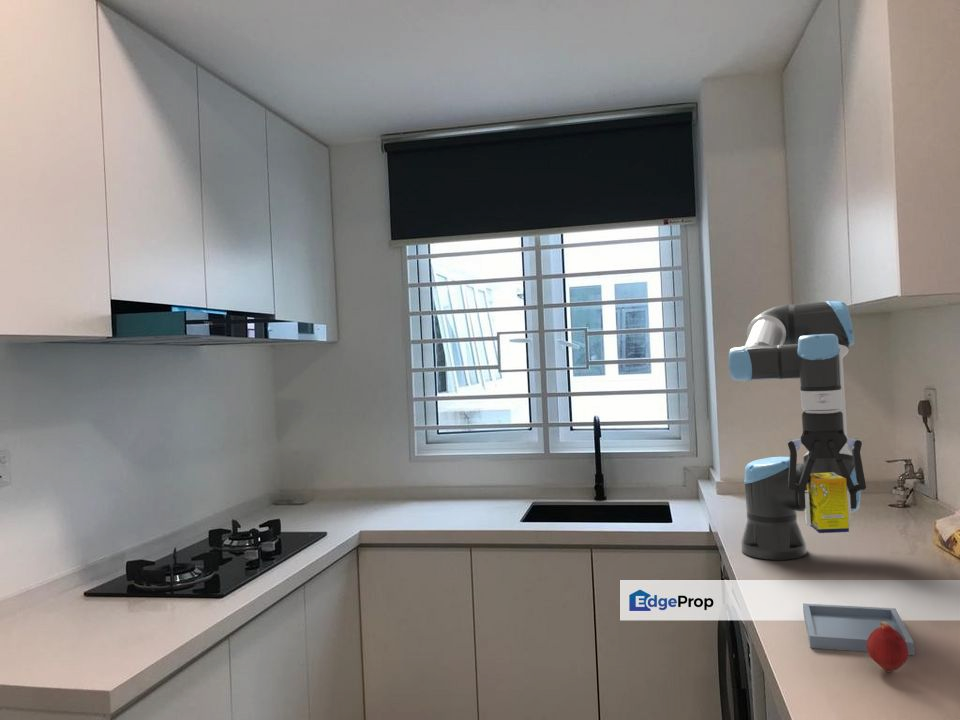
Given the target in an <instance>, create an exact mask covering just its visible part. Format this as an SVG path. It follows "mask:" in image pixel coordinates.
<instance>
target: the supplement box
mask: <svg viewBox="0 0 960 720" xmlns="http://www.w3.org/2000/svg"><path fill="white" fill-rule="evenodd" d="M807 491H808V492H809V502H810V520H811V525H809V527H811V528H813V529H814V530H816V532H817V533H818V534H832V533H833V534H835V533H837V534H838V533H849V532H850V526H849V523H848V505H847V484H846V478H844V477H842V476H840V475H838V474H836V473H835V472H831V473H811V474H810V477H809V480H808V483H807Z"/></svg>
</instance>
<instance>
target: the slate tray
mask: <svg viewBox="0 0 960 720" xmlns="http://www.w3.org/2000/svg"><path fill="white" fill-rule="evenodd" d="M802 611H803V612H802V613H803V618H804V623H805V628H806V634H807V639H808V643H809V648H811V649H820V650H822V649H823V650H834V649H835V651H847V650H848V651H851V652H864V653H868V651H867V646H866V645H867V640H868V637H869V636H870V634H871V633H872V632H873V631H874V630H875V629H877V628H879V627H881V624H880V623H881V622H887V624H888V625H890V626H891V627H892V628H893V629H895V630H896V631H897V632H899V633H900V634H901V636H902V637H903V638H904V640H905V642H906V644H907V647H908V652H909V653H908V656H915V653H916V651H915V642H914V640H913V638H912V636H911V635H910V633H909V631H908V629H907V627H906V625H905V623H904V622H903V619H902V618H901V616H900V614H899V612H898V611H897V608H894V607H893V608H892V607H876V606H875V607H874V606H858V605H857V606H856V605H840V604H839V605H836V604H820V603H818V604H817V603H802Z"/></svg>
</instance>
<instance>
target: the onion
mask: <svg viewBox="0 0 960 720" xmlns="http://www.w3.org/2000/svg"><path fill="white" fill-rule="evenodd" d="M880 624H881V627H879V628H877V629H875V630H874V631H873V632H872V633H871V634H870V636H869V637H868V640H867V645H866V646H867V651H868V652H867V654H868V655H869V657H870V658H871V660H872V661H874V663H875V664H877V665H878V666H879V667H881V668H882V670H884V671H885V672H888V673H891V672H893V671H895V670H898V669H900V668H901V667H902V666H903V665H904V664H905V663H906V662H907V660H908V658H909V655H908V653H909V652H908V647H907V644H906V642H905V640H904V638H903V637H902V636H901V634H900V633H899V632H897V631H896V630H895V629H893V628H892V627H891V626H890V625H888V624H887V622H881V623H880Z"/></svg>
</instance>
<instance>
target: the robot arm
mask: <svg viewBox="0 0 960 720" xmlns="http://www.w3.org/2000/svg"><path fill="white" fill-rule="evenodd" d="M746 329H747V330H746V338H747V339H746V341H745V345H742V346H739V347H732V348H730V349H729V352H728V370H729V376H730V378H731V379H732V380H733V381H745V382H750V381H766V380H767V381H769V380H770V381H771V380H772V381H773V380H793V379H795V380H796V379H799V383H800V391H799V392H800V405H801V406H800V407H801V409H802V410H803V412H802V413H801V420H802V421H801V423H802V435H801V436H800V438H797V439H788V440H787V442H786V443H787V446H788V447H787V448H788V450H789V456H772V457H764V458H760V459H756V460H752V461H750V462H748V463H747V464H746V466H745V467H744V480H743V483H744V486H745V488H744V489H745V500H746V501H745V502H746V504H745V506H746V523H745V527H744V531H743V533H742V534H743V535H742V538H741V542H740V543H741V544H740V545H741V552H742V553H743V554H745V555H747V556H748V557H749V556H750V557H753V558H756V559H763V560H772V561H777V560H778V561H779V560H780V561H785V560H786V561H787V560H794V559H798V558H802V557H805V556H806V555H807V543H806V540H805V538H804V536H803V532H802V530H801V528H800V525H799V523H798V518H797V512H804V513H805V514H804V516H805V523H806V526H810V525H811V520H810V502H809V492H808V491H807V483H808V480H809V477H810V474H811V473H831V472H835V473H836V474H838V475H840V476H842V477H844V478H846V484H847V505H848V523H849V527H853V523H852V513H854V512H857V511H858V510H859V508H860V504H861V494H862V491H864V490H866V489H867V484H866V479H865V473H864V467H863V461H862V457H861V449H862V445H863V443H862V440H860V439H859V438H851V437H850V438H849V437H848V428H847V427H848V426H847V412H846V411H847V410H846V409H847V408H846V397H845V396H846V395H845V394H846V392H845V391H846V390H845V378H844V377H845V376H844V359H843V358H844V357H846V356H847V354H848V353H849V347H852V346H854V345H855V334H854V330H853V323H852V319H851V315H850V311H849V308H848V305H847V304H846V302H843V301H839V300H838V301H837V300H836V301H829V300H825V301H821V302H818V301H817V302H810V303H809V302H807V303H806V302H805V303H796V304H795V303H792V304H782V305H777V306H774V307H772V308H769V309H767V310H764V311H763V312H760V313H759V314H758V315H756V316H755V317H754V318H753V319H751V321H750V323H749V324H748V327H747V328H746ZM801 445H803V446H804V447H805V449H806V450H807V452H806V453H805V454H804V455H803V458H802V459H803V462H802V463H798V462H797V461H798V451H799V450H800V448H801ZM849 449H850V450H851V451H850V450H849Z"/></svg>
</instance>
